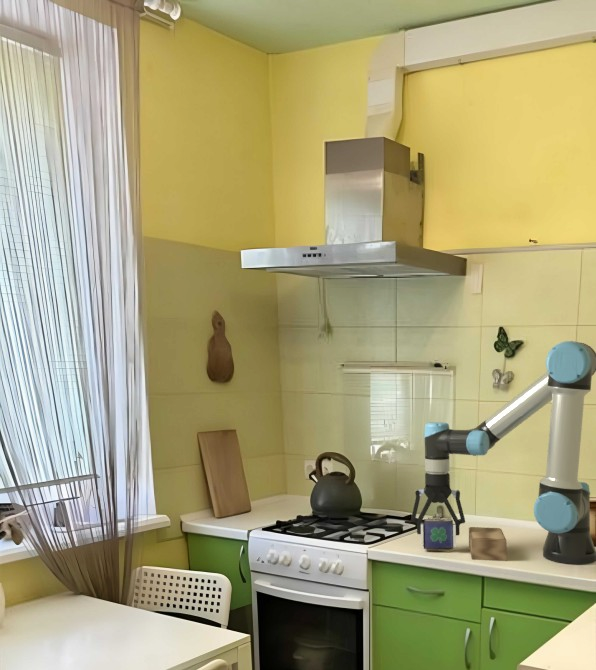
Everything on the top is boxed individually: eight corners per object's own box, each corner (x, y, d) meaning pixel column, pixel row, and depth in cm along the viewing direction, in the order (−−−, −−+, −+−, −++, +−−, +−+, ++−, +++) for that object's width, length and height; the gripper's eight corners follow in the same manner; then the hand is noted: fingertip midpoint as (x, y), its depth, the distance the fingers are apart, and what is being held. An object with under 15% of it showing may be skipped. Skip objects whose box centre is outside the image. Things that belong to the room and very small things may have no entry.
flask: (452, 547, 234) (452, 513, 235) (454, 550, 232) (453, 514, 232) (422, 547, 235) (422, 513, 235) (424, 550, 232) (423, 514, 232)
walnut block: (501, 548, 238) (501, 527, 238) (506, 560, 222) (506, 539, 222) (468, 546, 240) (468, 526, 240) (471, 559, 224) (471, 537, 224)
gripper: (472, 471, 236) (473, 543, 235) (402, 470, 240) (403, 541, 239) (474, 474, 229) (475, 549, 228) (401, 473, 233) (402, 547, 231)
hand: (438, 545), depth 233 cm, fingers closed on flask, 9 cm apart
